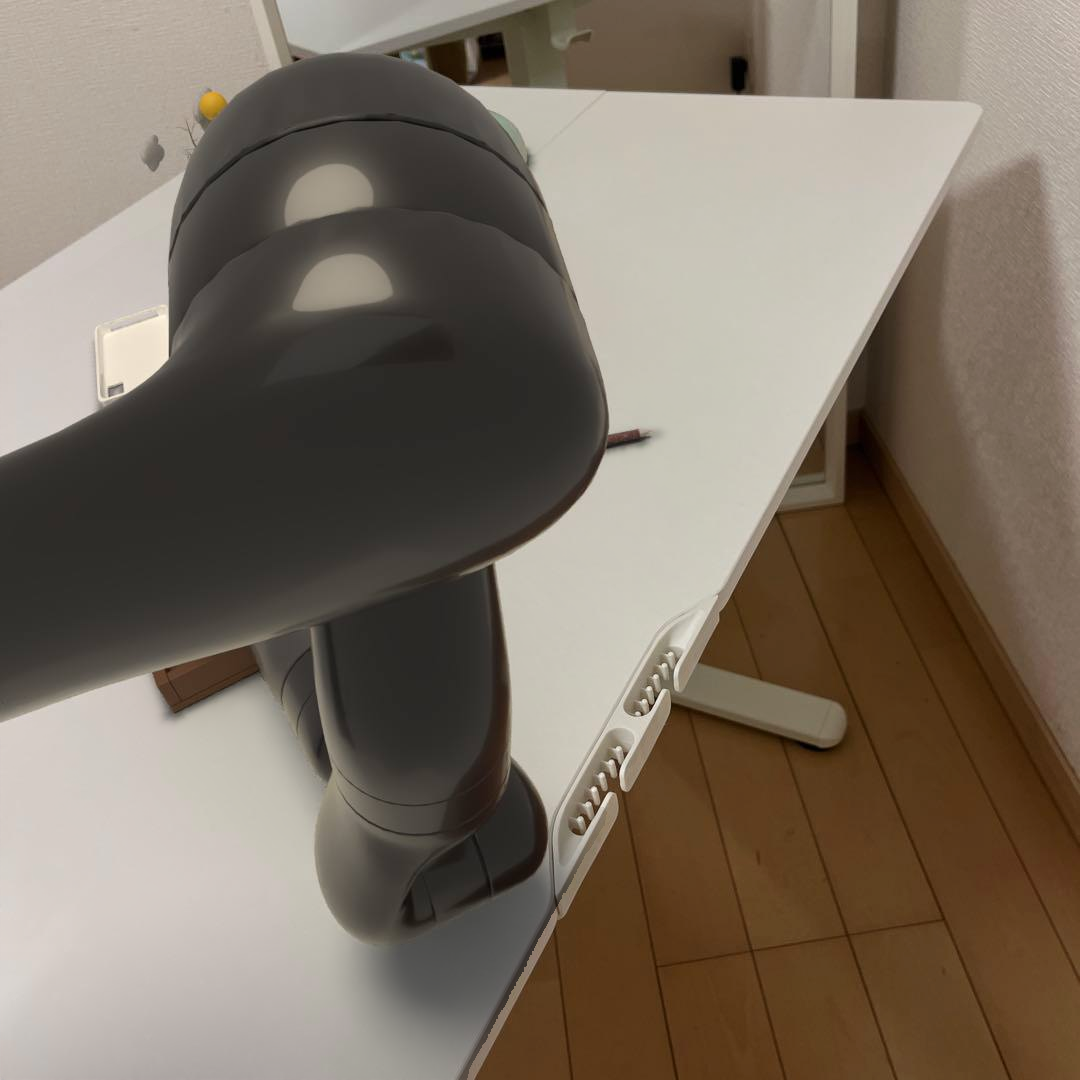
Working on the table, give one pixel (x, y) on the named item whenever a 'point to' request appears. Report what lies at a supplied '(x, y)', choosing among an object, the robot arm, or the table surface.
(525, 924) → the table surface
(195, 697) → the tray
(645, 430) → the pen
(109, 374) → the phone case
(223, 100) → the penguin figurine
